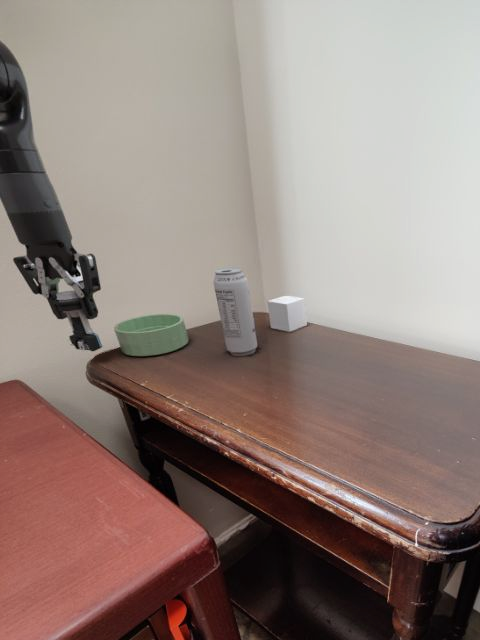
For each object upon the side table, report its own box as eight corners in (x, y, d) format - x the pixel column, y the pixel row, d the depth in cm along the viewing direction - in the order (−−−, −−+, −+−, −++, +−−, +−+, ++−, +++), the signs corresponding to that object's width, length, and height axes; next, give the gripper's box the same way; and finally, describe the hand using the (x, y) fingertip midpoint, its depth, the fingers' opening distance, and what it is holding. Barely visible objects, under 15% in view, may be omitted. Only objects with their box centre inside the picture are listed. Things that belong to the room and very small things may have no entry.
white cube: (289, 332, 88) (286, 304, 85) (270, 327, 91) (267, 301, 88) (307, 324, 92) (305, 298, 89) (288, 321, 95) (285, 295, 92)
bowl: (108, 357, 79) (99, 332, 76) (145, 336, 89) (138, 313, 87) (169, 358, 77) (162, 333, 74) (199, 336, 87) (194, 314, 85)
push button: (61, 352, 73) (36, 295, 67) (83, 342, 77) (61, 288, 72) (90, 354, 72) (67, 297, 66) (111, 344, 76) (91, 289, 70)
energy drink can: (264, 351, 78) (252, 269, 70) (237, 359, 75) (221, 275, 66) (248, 344, 82) (234, 266, 74) (222, 352, 79) (205, 271, 70)
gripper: (90, 206, 64) (126, 312, 73) (14, 209, 66) (58, 312, 75) (56, 208, 58) (100, 324, 67) (-27, 212, 60) (27, 324, 69)
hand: (77, 317), depth 71 cm, fingers closed on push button, 5 cm apart
